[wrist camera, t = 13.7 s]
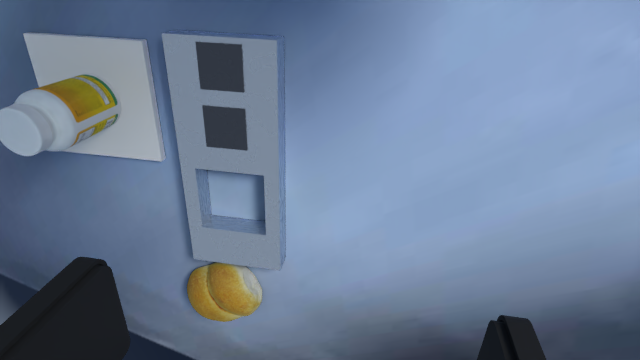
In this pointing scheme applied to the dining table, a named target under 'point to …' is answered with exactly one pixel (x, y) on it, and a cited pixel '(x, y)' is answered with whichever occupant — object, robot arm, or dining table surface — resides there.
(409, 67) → the dining table surface
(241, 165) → the grey board with squares
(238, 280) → the bread roll
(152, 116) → the plate
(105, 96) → the supplement bottle
